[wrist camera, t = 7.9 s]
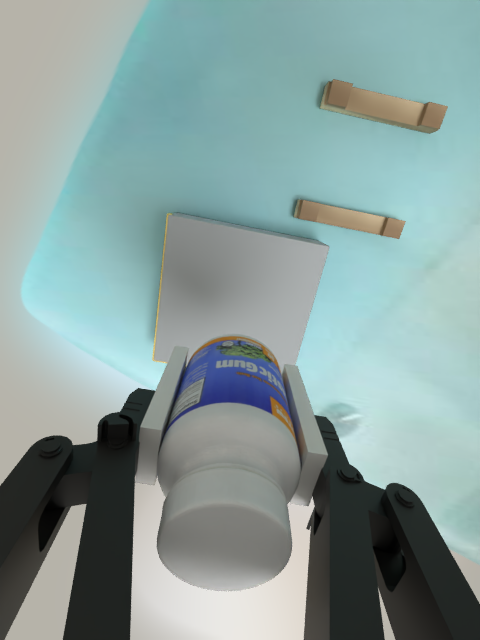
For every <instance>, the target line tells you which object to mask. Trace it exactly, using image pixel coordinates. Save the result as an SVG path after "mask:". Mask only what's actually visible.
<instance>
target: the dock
mask: <svg viewBox="0 0 480 640" xmlns="http://www.w3.org/2000/svg"><path fill="white" fill-rule="evenodd" d="M328 251H329V246H327V245H326V244H324V243H322V242H320V241H317V240H312V239H307V238H302V237H297V236H292V235H287V234H282V233H277V232H272V231H267V230H262V229H257V228H252V227H247V226H242V225H237V224H232V223H227V222H222V221H217V220H212V219H207V218H202V217H197V216H192V215H187V214H182V213H174V214H172V213H168V214H167V218H166V228H165V238H164V248H163V258H162V268H161V278H160V288H159V298H158V309H157V319H156V329H155V339H154V349H153V359H152V360H153V361H157V362H163V363H168V361H169V359H170V357H171V354H172V352H173V350H174V347H175V346H181V347H187V348H189V350H188V357H187V364H186V366H187V365H188V362H189V360H190V358H191V357H192V355H193V354H194V352H195V351H196V350H197V349H198V348H199V347H200V346H201V345H203V344H204V343H205V342H207V341H209V340H210V339H213V338H215V337H218V336H221V335H227V334H240V335H246V336H249V337H252V338H254V339H257V340H258V341H260V342H262V343H263V344H264V345H266V346H267V347H268V348H269V349H270V350H271V351H272V353H273V354H274V356H275V357H276V359H277V361H278V364H279V367H280V370H281V374H282V371H283V367H284V364H287V365H293V366H295V364H296V360H297V357H298V354H299V350H300V347H301V343H302V340H303V336H304V333H305V330H306V326H307V323H308V319H309V316H310V312H311V309H312V306H313V302H314V299H315V295H316V292H317V288H318V285H319V282H320V278H321V275H322V271H323V268H324V264H325V261H326V258H327V254H328Z"/></svg>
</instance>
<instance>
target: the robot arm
mask: <svg viewBox="0 0 480 640" xmlns="http://www.w3.org/2000/svg"><path fill="white" fill-rule="evenodd" d="M188 350H189V348H187V347H181V346H175V347H174V350H173V352H172V354H171V357H170V359H169V361H168V363H167V366H166V368H165V370H164V373H163V375H162V377H161V380H160V382H159V384H158V387H157V389H156V391H153V390H147V389H140V388H138V389H137V390H135V391H134V392H132V393H131V394H130V395H129V397H128V399H127V401H126V403H125V404H124V406H123V408H122V410H121V411H120V412H117V413H111V414H109V415H106V416H105V417H103V418H102V419H101V420H100V422H99V424H98V438H97V441H96V442H93V443H89V444H82V445H72V441H71V440H70V439H68V438H67V437H64V436H49V437H45V438H43V439H41V440H39V441H37V442H36V443H35V444H33V446H31V447H30V449H29V450H28V451H27V452H26V454H25V455H24V456H23V458H22V459H21V460H20V461H19V463H18V464H17V465H16V466H15V468H14V469H13V470H12V472H11V473H10V474H9V475H8V477H7V478H6V479H5V481H4V482H3V483H2V484H1V486H0V640H4V639H5V637H6V635H7V633H8V631H9V629H10V627H11V625H12V623H13V621H14V619H15V617H16V615H17V613H18V611H19V609H20V607H21V605H22V603H23V601H24V599H25V597H26V595H27V593H28V591H29V589H30V587H31V585H32V583H33V581H34V579H35V577H36V575H37V573H38V571H39V569H40V567H41V565H42V563H43V561H44V559H45V557H46V555H47V553H48V551H49V549H50V547H51V545H52V543H53V541H54V539H55V537H56V535H57V533H58V531H59V529H60V527H61V525H62V523H63V521H64V519H65V517H66V515H67V513H68V511H69V510H70V507H71V506H75V505H81V504H87V505H86V510H85V516H84V522H83V528H82V533H81V539H80V545H79V551H78V556H77V562H76V568H75V574H74V580H73V585H72V590H71V596H70V602H69V607H68V613H67V619H66V625H65V631H64V636H63V640H130V620H131V586H132V554H133V521H134V520H133V519H134V486H135V483H142V484H149V485H155V482H156V478H157V461H158V455H159V451H160V448H161V444H162V441H163V437H164V434H165V431H166V428H167V425H168V422H169V419H170V415H171V412H172V409H173V406H174V403H175V400H176V397H177V394H178V391H179V388H180V385H181V382H182V379H183V376H184V373H185V370H186V364H187V357H188ZM282 378H283V383H284V388H285V393H286V397H287V402H288V407H289V411H290V415H291V420H292V424H293V429H294V433H295V438H296V442H297V446H298V452H299V457H300V464H301V474H300V480H299V484H298V487H297V490H296V492H295V494H294V496H293V497H292V499H291V500H290V503H291V504H296V505H304V506H309V503H310V500H311V498H312V496H313V500H314V505H315V507H314V510H313V512H312V515H311V517H310V520H309V523H308V525H307V529H308V530H309V529H310V526H311V534H310V550H309V565H308V581H307V597H306V613H305V629H304V640H385V639H384V631H383V623H382V615H381V608H380V600H379V592H378V588H379V591H380V594H381V597H382V600H383V603H384V606H385V609H386V612H387V615H388V618H389V621H390V624H391V627H392V630H393V633H394V636H395V639H396V640H480V604H479V602H478V600H477V598H476V596H475V595H474V593H473V591H472V589H471V588H470V586H469V584H468V582H467V581H466V579H465V577H464V575H463V573H462V572H461V570H460V568H459V566H458V565H457V563H456V561H455V560H454V558H453V556H452V554H451V553H450V550H449V549H448V547H447V545H446V543H445V542H444V540H443V538H442V536H441V535H440V533H439V531H438V529H437V528H436V526H435V524H434V522H433V520H432V519H431V517H430V515H429V513H428V512H427V510H426V508H425V506H424V505H423V503H422V501H421V500H420V498H419V497H418V496H417V495H416V494H415V493H414V492H413V491H412V490H411V489H409V488H407V487H406V486H404V485H401V484H398V483H390V484H389V485H387V487H386V489H385V490H384V489H381V488H379V487H377V486H374V485H372V484H369V483H367V482H365V481H364V479H363V476H362V475H361V473H360V472H359V471H358V470H357V469H356V468H355V467H353V466H352V465H350V464H349V462H348V460H347V457H346V455H345V452H344V450H343V448H342V445H341V443H340V441H339V438H338V436H337V435H336V431H335V428H334V426H333V424H332V423H331V422H330V421H329V420H328V419H327V418H326V417H323V416H316V415H314V413H313V410H312V407H311V404H310V401H309V398H308V396H307V393H306V390H305V387H304V384H303V381H302V378H301V375H300V372H299V369H298V366H293V365H287V364H284V367H283V371H282ZM135 475H136V477H135Z"/></svg>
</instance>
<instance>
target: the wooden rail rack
mask: <svg viewBox="0 0 480 640" xmlns="http://www.w3.org/2000/svg"><path fill="white" fill-rule="evenodd" d="M352 85H353V84H352V83H347V82H343V81H339V80H335V79H333V80H332V82H330V81H329V82H328V83H327V84H326V86H325V89H324V93H323V97H322V101H321V105H320V109H325V110H329V111H333V112H338V113H342V114H346V115H351V116H355V117H359V118H364V119H368V120H372V121H377V122H381V123H385V124H390V125H394V126H398V127H403V128H407V129H411V130H416V131H420V132H425V133H429V134H430V133H433V132H436V131H438V129H440V126H441V124H442V121H443V118H444V116H445V113H446V110H447V107H448V106H444V105H440V104H436V103H432V102H428V103H426V104H423V103H419V102H414V101H410V100H406V99H402V98H397V97H393V96H389V95H385V94H381V93H376V92H372V91H368V90H364V89H359V88H355V87H352ZM294 217H295V218H299V219H303V220H308V221H313V222H319V223H324V224H329V225H334V226H339V227H344V228H349V229H353V230H358V231H363V232H368V233H373V234H378V235H382V236H387V237H392V238H397V239H399V238H400V235H401V232H402V230H403V227H404V224H405V221H402V220H397V219H393V218H387V217H382V216H377V215H372V214H367V213H363V212H358V211H353V210H348V209H343V208H339V207H334V206H329V205H324V204H320V203H316V202H311V201H306V200H300V199H298V200H297V205H296V209H295V213H294Z"/></svg>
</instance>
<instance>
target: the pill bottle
mask: <svg viewBox="0 0 480 640" xmlns="http://www.w3.org/2000/svg"><path fill="white" fill-rule="evenodd" d="M300 474H301V464H300V457H299V452H298V446H297V442H296V438H295V433H294V429H293V424H292V420H291V415H290V411H289V407H288V402H287V397H286V393H285V388H284V383H283V378H282V374H281V370H280V367H279V364H278V361H277V359H276V357H275V356H274V354H273V353H272V351H271V350H270V349H269V348H268V347H267V346H266V345H264V344H263V343H262V342H260V341H258V340H257V339H254V338H252V337H249V336H246V335H240V334H227V335H221V336H218V337H215V338H213V339H210V340H209V341H207V342H205V343H204V344H203V345H201V346H200V347H199V348H198V349H197V350H196V351H195V352H194V354H193V355H192V357H191V358H190V360H189V362H188V365H187V367H186V370H185V373H184V376H183V379H182V382H181V385H180V388H179V391H178V394H177V397H176V400H175V403H174V406H173V409H172V412H171V415H170V419H169V422H168V425H167V428H166V431H165V434H164V437H163V441H162V444H161V448H160V451H159V455H158V461H157V475H158V481H159V483H160V486H161V489H162V491H163V493H164V495H165V497H166V499H165V501H164V505H163V511H162V517H161V522H160V526H159V531H158V537H157V550H158V554H159V558H160V559H161V561H162V563H163V564H164V566H165V567H166V568H167V569H168V570H169V571H170V572H171V573H172V574H174V575H175V576H176V577H178V578H179V579H181V580H182V581H184V582H187V583H189V584H191V585H193V586H197V587H200V588H204V589H208V590H216V591H238V590H244V589H249V588H253V587H256V586H259V585H261V584H263V583H266V582H268V581H269V580H271V579H272V578H274V577H275V576H276V575H278V574H279V573H280V572H281V571H282V570H283V569H284V567H285V566H286V564H287V563H288V560H289V558H290V556H291V551H292V537H291V529H290V521H289V514H288V507H287V504H288V503H289V502H290V500H291V499H292V497H293V496H294V494H295V492H296V490H297V487H298V484H299V480H300Z"/></svg>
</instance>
